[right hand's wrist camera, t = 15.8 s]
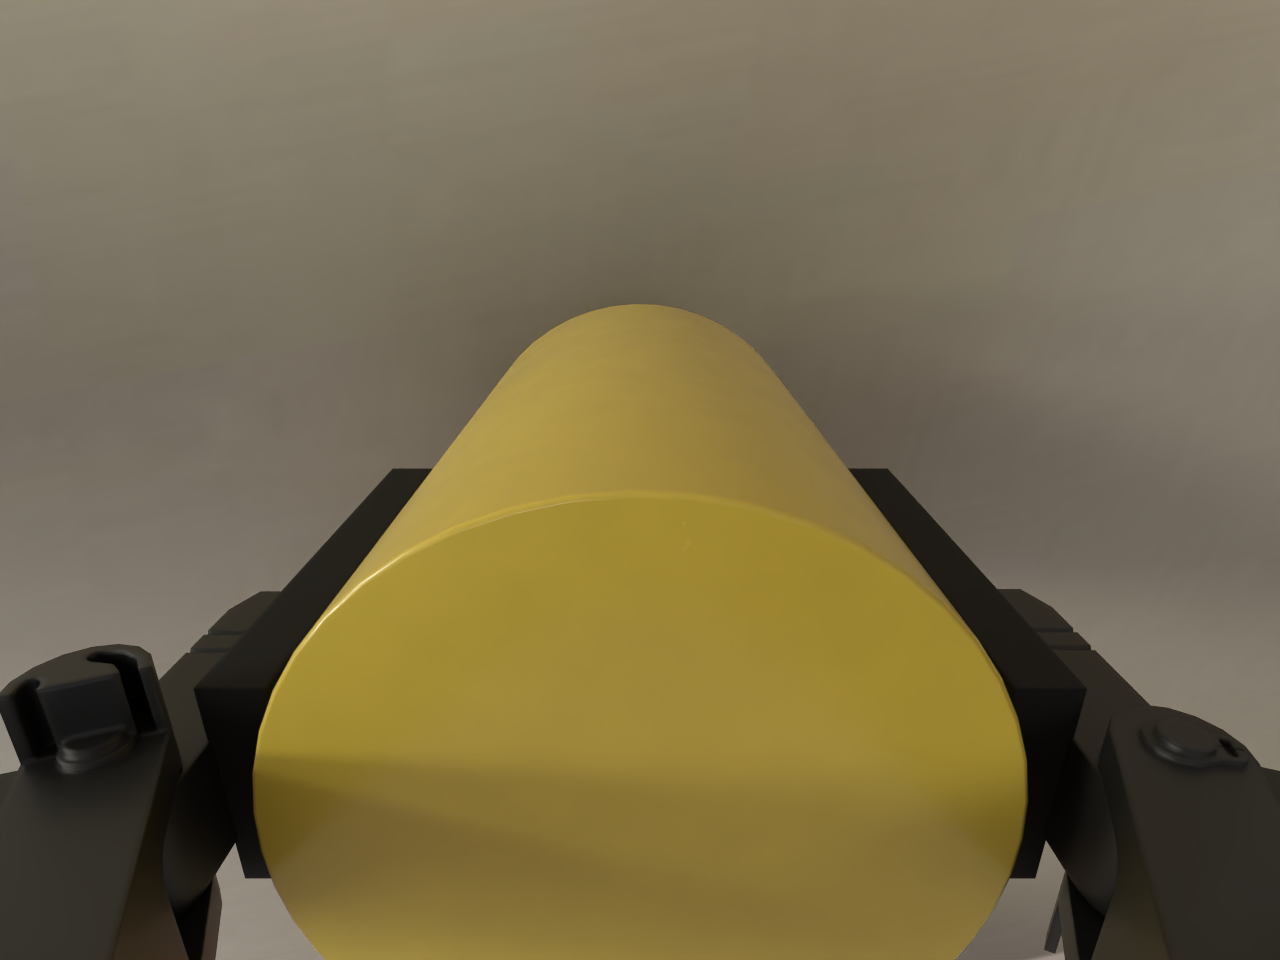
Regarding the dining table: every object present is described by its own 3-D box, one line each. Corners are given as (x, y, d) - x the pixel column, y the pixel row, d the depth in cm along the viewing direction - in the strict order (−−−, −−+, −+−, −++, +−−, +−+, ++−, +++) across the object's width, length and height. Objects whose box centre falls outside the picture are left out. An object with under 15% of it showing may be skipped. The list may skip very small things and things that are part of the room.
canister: (808, 300, 16) (1108, 482, 6) (789, 600, 19) (968, 1081, 9) (464, 306, 16) (157, 501, 6) (496, 605, 19) (326, 1089, 9)
